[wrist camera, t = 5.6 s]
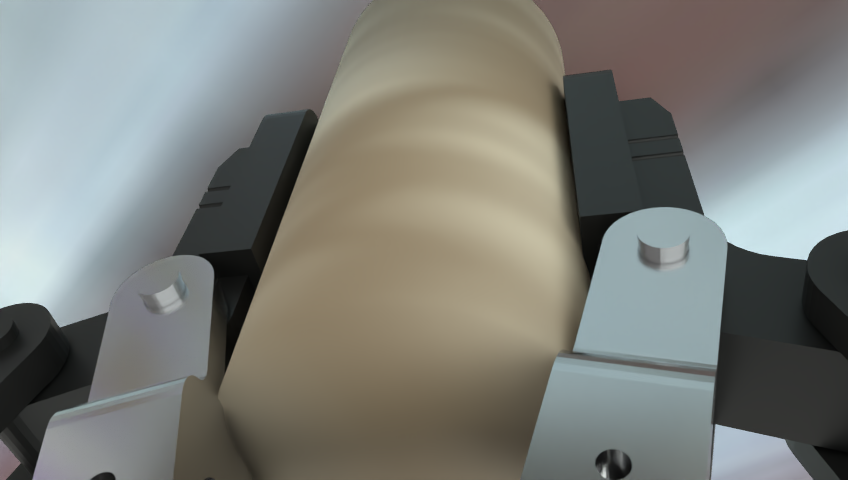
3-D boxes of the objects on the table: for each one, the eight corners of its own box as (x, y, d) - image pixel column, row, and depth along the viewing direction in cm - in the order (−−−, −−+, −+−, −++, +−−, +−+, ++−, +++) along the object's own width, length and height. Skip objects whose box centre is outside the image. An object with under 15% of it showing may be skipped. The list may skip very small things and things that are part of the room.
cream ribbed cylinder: (553, -49, 12) (601, 283, 6) (571, 157, 15) (616, 543, 9) (319, -11, 13) (153, 320, 7) (371, 180, 16) (283, 550, 9)
